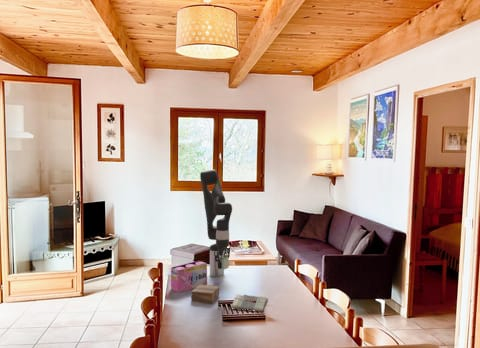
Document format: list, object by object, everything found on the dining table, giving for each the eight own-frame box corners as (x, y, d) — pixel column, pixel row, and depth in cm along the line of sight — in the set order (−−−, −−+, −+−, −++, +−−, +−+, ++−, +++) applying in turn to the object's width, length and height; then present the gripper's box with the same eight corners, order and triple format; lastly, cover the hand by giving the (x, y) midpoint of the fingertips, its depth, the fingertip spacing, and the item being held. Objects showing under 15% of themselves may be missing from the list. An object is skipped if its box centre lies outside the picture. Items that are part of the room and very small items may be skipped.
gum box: (201, 280, 242) (201, 259, 241) (209, 283, 236) (209, 262, 235) (170, 289, 224) (170, 267, 224) (178, 292, 219) (178, 270, 218)
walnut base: (199, 294, 217) (199, 284, 217) (218, 296, 214) (219, 286, 214) (191, 302, 206) (191, 291, 206) (211, 304, 203) (211, 293, 202)
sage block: (221, 266, 215) (221, 256, 215) (228, 267, 213) (228, 257, 212) (216, 268, 211) (216, 258, 211) (223, 269, 208) (223, 259, 208)
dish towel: (263, 313, 192) (263, 307, 192) (230, 310, 195) (230, 304, 195) (268, 300, 210) (268, 294, 210) (237, 297, 214) (237, 292, 214)
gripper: (223, 234, 219) (223, 263, 220) (209, 239, 207) (209, 269, 207) (234, 236, 215) (234, 265, 216) (221, 240, 203) (221, 271, 204)
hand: (222, 267), depth 212 cm, fingers closed on sage block, 5 cm apart
